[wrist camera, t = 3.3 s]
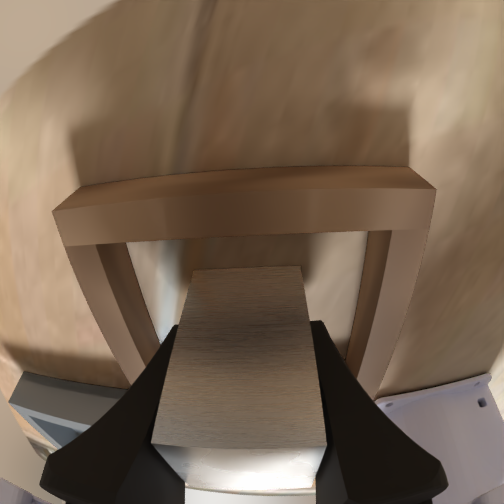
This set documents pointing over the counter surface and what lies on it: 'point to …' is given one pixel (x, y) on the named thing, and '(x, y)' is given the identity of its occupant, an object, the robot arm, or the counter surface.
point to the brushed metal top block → (243, 384)
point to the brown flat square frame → (245, 224)
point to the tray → (61, 405)
